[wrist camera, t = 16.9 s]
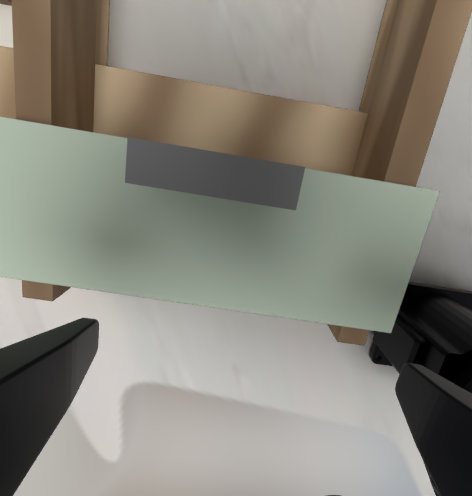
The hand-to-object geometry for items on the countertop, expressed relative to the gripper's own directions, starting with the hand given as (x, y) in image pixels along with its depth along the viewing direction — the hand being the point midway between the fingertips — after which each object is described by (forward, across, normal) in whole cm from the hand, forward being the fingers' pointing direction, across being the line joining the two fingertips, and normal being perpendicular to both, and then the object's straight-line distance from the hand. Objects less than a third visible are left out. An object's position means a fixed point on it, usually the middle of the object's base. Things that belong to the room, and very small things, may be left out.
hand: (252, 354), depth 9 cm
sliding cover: (+6, +2, -2) cm, 7 cm away
